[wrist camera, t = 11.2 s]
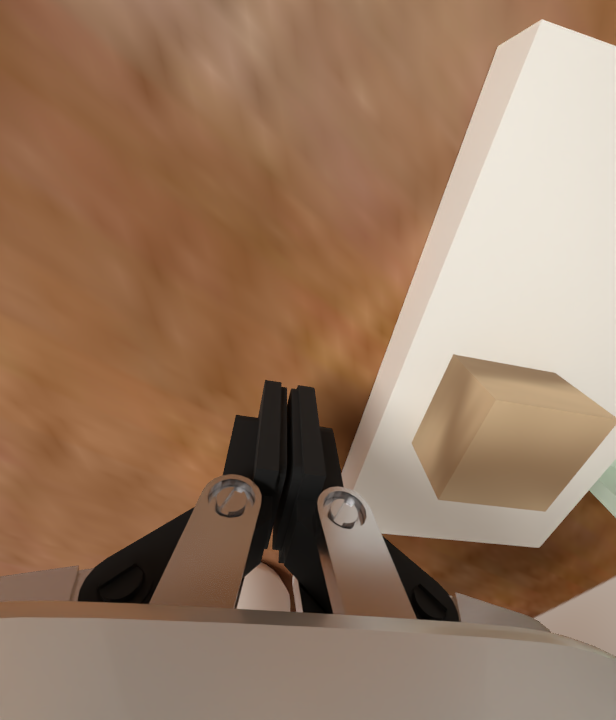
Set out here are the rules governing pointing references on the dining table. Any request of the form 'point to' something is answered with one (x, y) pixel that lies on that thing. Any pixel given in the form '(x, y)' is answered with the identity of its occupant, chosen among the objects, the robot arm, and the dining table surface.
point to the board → (507, 280)
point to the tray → (606, 488)
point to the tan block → (506, 434)
